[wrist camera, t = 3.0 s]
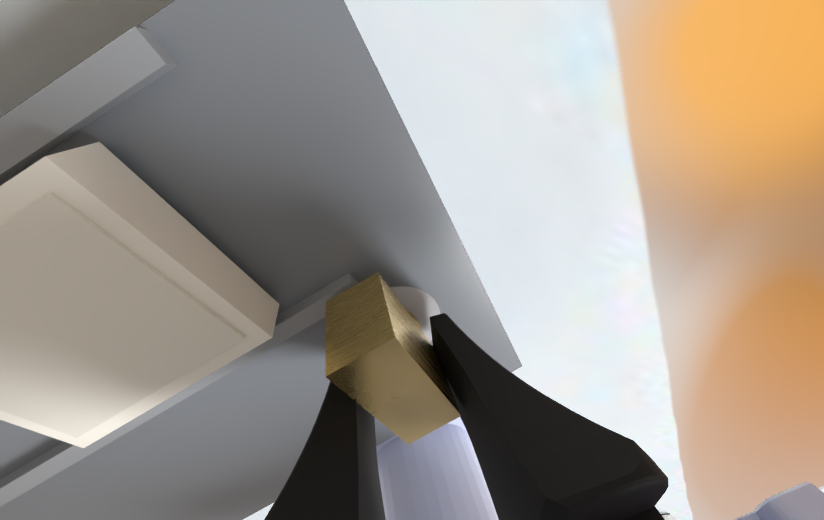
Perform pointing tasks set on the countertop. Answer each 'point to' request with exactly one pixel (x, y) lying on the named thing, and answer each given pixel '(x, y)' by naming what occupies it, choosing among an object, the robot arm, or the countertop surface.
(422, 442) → the robot arm
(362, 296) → the gold metal block
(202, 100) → the grey slotted tray
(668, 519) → the supplement tub
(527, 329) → the countertop surface
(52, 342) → the cover
